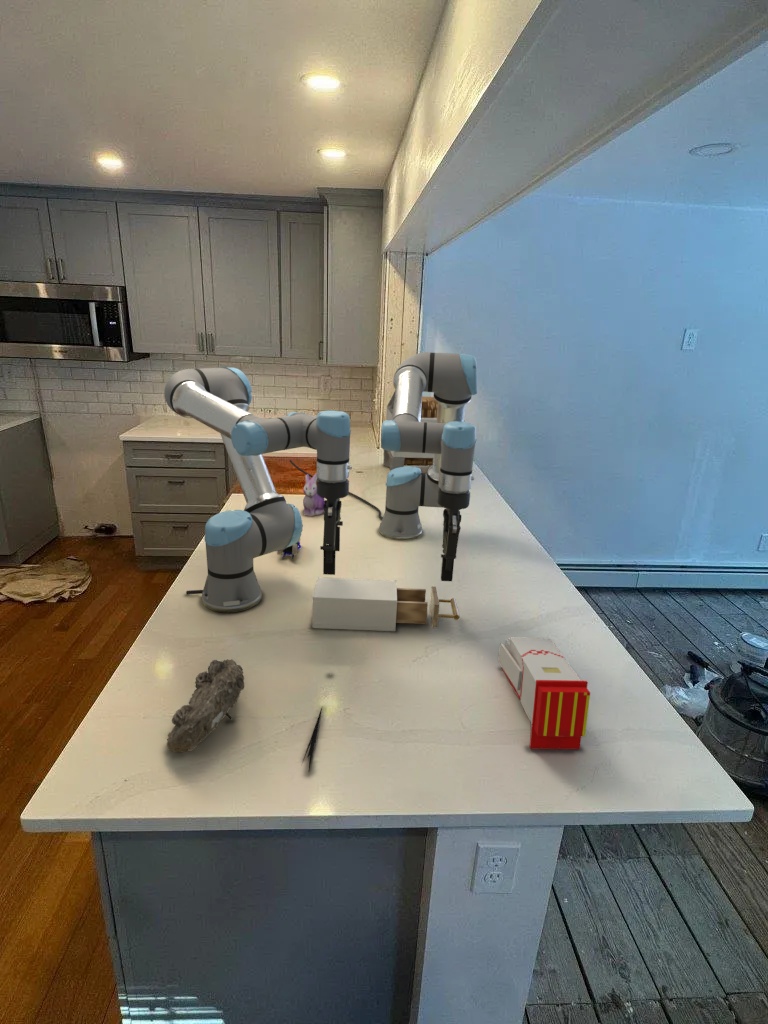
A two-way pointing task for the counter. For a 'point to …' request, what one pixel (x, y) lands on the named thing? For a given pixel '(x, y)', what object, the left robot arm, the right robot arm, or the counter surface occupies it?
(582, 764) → the counter surface
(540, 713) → the toy
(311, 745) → the feather
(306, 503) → the figurine
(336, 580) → the cabinet
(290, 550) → the figurine character
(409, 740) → the counter surface
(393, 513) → the right robot arm
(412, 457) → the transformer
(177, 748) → the fossil
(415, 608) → the drawer
